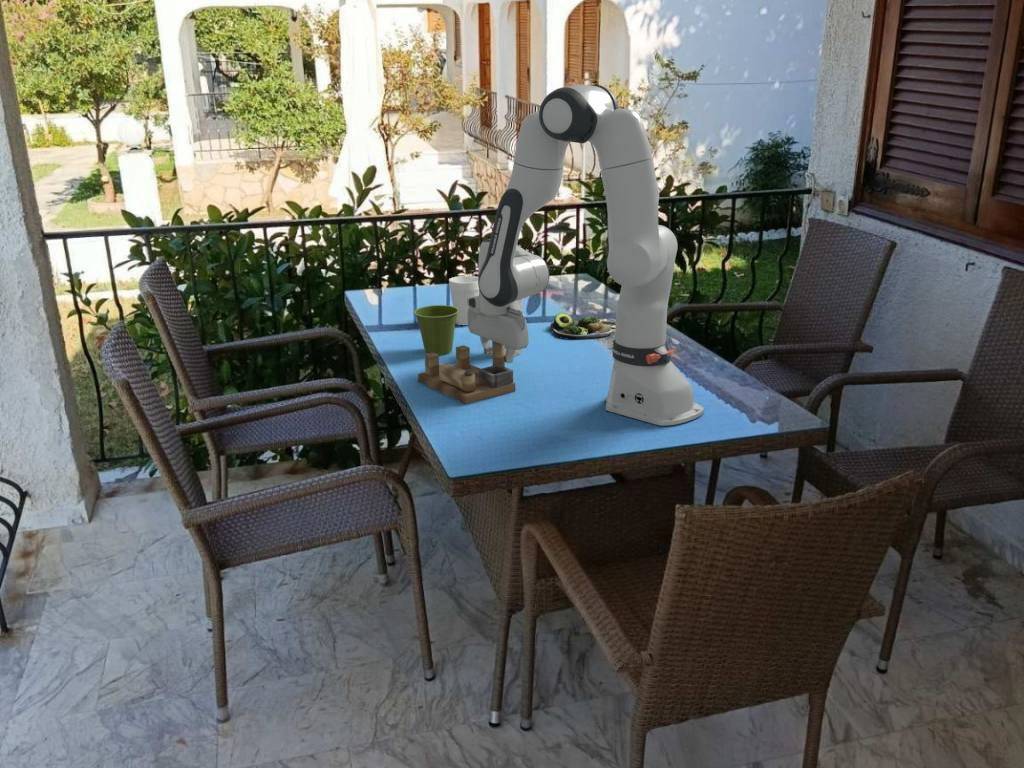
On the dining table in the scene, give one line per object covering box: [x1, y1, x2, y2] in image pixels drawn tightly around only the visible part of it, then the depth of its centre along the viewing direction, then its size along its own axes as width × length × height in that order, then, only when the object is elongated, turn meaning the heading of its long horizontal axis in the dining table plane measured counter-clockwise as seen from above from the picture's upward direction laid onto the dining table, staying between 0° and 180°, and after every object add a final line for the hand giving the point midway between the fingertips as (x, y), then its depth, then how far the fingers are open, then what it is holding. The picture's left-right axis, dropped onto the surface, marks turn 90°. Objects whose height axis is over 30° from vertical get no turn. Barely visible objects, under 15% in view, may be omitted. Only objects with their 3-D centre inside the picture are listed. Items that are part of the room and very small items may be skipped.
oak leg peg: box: [491, 341, 506, 367], centre depth 227 cm, size 3×3×9 cm
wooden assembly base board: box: [417, 344, 516, 405], centre depth 218 cm, size 20×14×7 cm
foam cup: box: [448, 275, 479, 326], centre depth 269 cm, size 10×9×13 cm
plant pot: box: [413, 304, 459, 356], centre depth 243 cm, size 12×12×11 cm
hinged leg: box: [439, 362, 475, 392], centre depth 213 cm, size 12×3×4 cm, turn 38°
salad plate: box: [550, 312, 616, 340], centre depth 263 cm, size 19×18×5 cm
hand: (498, 358), depth 227 cm, fingers open, 7 cm apart
